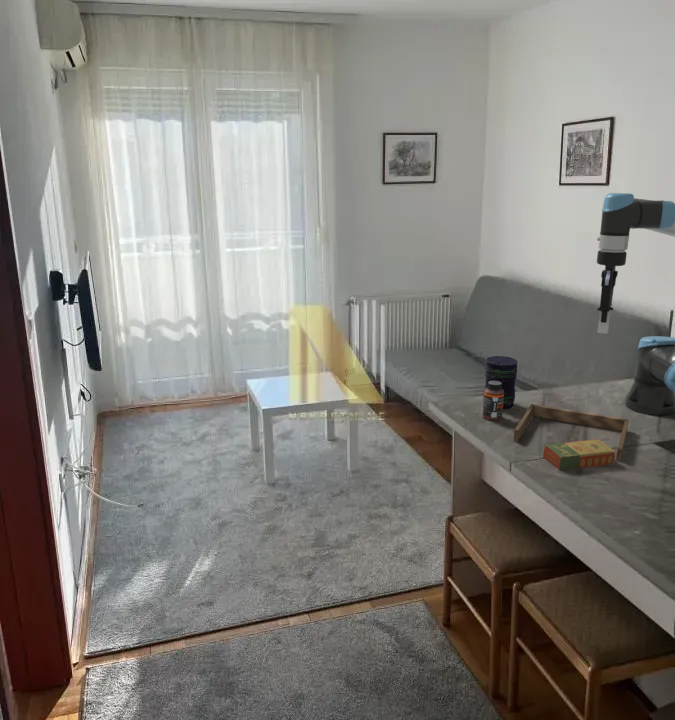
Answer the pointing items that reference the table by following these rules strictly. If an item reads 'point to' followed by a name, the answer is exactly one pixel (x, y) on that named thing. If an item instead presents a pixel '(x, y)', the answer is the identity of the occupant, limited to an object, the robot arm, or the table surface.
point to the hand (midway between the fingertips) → (602, 332)
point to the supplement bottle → (493, 401)
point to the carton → (579, 454)
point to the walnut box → (574, 421)
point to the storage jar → (503, 376)
